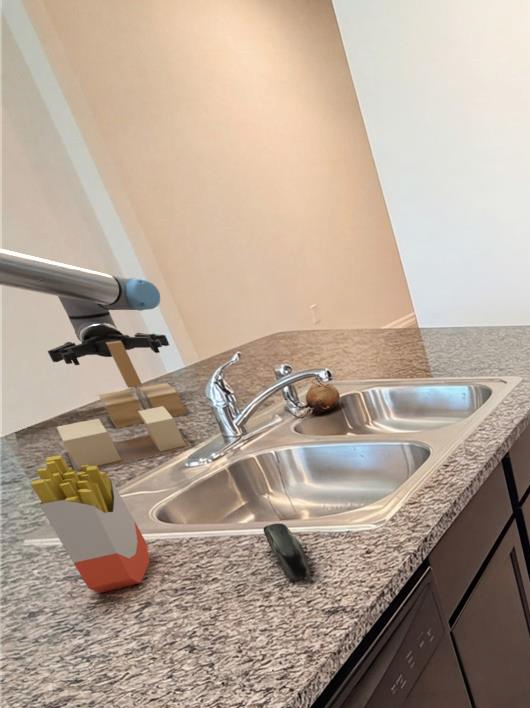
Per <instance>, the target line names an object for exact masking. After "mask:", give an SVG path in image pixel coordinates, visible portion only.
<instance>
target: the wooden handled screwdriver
mask: <svg viewBox="0 0 530 708" xmlns="http://www.w3.org/2000/svg"><path fill="white" fill-rule="evenodd" d="M106 344H107V346H108V348H109V350H110V352H111V354H112V357H111V358H112V359H113V361H114V362H115V365H116V367H117V369H118V371H119V373H120V376H121V377H122V379H123V381H124V383H125V386H126V387H127V388H128V389H129V388H132V389H133V391H134V393H135V396H136V397H137V399H138V401H139V405H140V407H141V409H142V410H146V409H149V407H148V405H147V403H146V401H145V399H144V397H143V395H142V393H141V390H140V387H143V383H142V381H141V379H140V377H139V375H138V373H137V371H136V368H135V366H134V364H133V363H132V361H131V358H130V355H129V354H128V352H127V350H125V347H124V345H123V343H122V342H121V341H113V342H106Z"/></svg>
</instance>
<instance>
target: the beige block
mask: <svg viewBox="0 0 530 708" xmlns="http://www.w3.org/2000/svg"><path fill="white" fill-rule="evenodd" d="M56 429H57V431H58V434H59V436H60V438H61V440H62V442H63V445H64V446H65V448H66V449H67V451H68V453H70V455H71V457H72V459H73V460H74V462H75V464H76V466H77V468H78V470H81V469H82V468H81V466H83V465H89V466H98V465H103V464H107V463H111V462H116V461H120V460H121V458H120V456H119V454H118V452H117V450H116V448H115V446H114V444H113V443H114V442H113V439H111V436H110V434H109V432H108V431H107V429H106V428H105V426H104V424H103V423H102V422H101V420H100V418H94V419H90V420H85V421H78V422H74V423H69V424H64V425H59V426H56Z"/></svg>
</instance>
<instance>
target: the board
mask: <svg viewBox="0 0 530 708" xmlns="http://www.w3.org/2000/svg"><path fill="white" fill-rule="evenodd" d="M181 436H182V439H183V441H184V443H185V445H186V446H182V447H178V448H173V449H169V450H165V451H160V450H159V449H158V447H157V446H156V445H155V443H154V442H153V440H152V439H151V437H150V435H149V434H148V435H145V436H139V437H135V438H131V439H126V440H121V441H117V442H113V444H114V446H115V448H116V450H117V452H118V454H119V456H120V458H121V460H120V461H116V462H111V463H107V464H103V465H98V466H97V467H98V469H99V470H100V469H103V468H108V467H113V466H118V465H121V464H125V463H129V462H133V461H138V460H142V459H147V458H151V457H154V456H159V455H163V454H167V453H171V452H177V451H180V450H185V449H189V448H192V447H193V446H192V444H191V443H190V442H189V440H187V439H186V438H185V437H184V436H183V435H182V434H181ZM67 456H68V457H69V460H70V463H71V465H72V468H73V470H74V472H79V471H83V470H82V469H81V470H78V468H77V466H76V464H75V462H74V460H73V459H72V457H71V455H70V453H69V452H67Z"/></svg>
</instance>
